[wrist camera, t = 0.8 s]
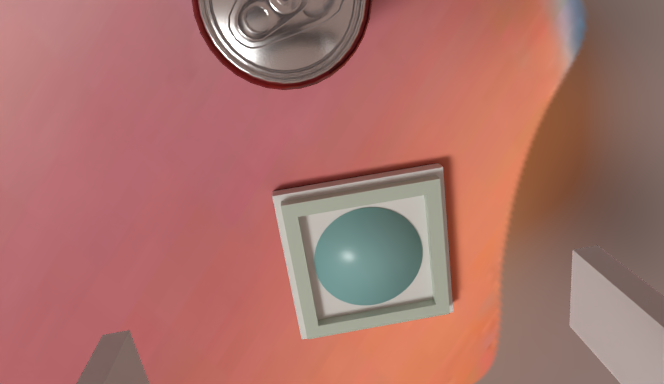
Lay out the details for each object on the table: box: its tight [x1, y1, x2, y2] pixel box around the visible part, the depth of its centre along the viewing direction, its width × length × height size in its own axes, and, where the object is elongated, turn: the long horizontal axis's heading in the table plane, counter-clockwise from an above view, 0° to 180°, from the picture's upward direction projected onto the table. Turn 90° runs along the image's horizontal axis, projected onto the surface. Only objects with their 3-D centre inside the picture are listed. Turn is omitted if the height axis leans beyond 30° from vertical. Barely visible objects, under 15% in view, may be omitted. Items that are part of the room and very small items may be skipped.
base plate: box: [272, 163, 453, 339], centre depth 36 cm, size 12×12×2 cm
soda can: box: [192, 0, 372, 90], centre depth 25 cm, size 7×7×12 cm
